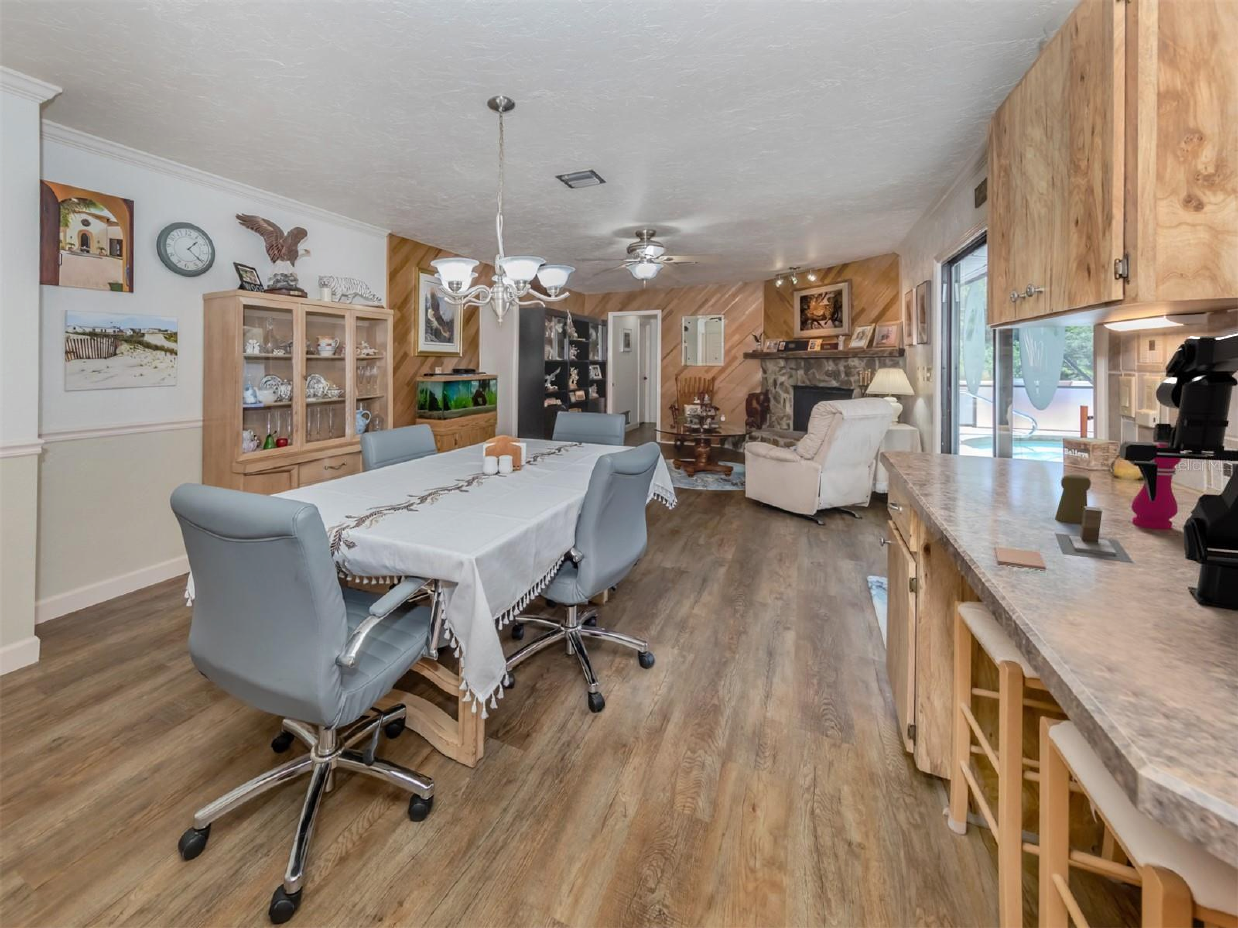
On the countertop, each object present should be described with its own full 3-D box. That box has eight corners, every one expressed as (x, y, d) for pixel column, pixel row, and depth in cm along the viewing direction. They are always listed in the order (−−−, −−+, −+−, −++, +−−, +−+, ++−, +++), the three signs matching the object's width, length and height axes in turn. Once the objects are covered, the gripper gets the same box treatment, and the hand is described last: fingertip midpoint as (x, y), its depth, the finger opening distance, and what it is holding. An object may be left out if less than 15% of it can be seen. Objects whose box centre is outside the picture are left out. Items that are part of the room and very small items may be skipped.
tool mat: (1133, 565, 99) (1133, 562, 99) (1062, 556, 105) (1062, 553, 105) (1117, 542, 112) (1117, 540, 111) (1054, 535, 117) (1054, 533, 117)
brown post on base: (1115, 555, 103) (1120, 519, 102) (1074, 550, 106) (1078, 515, 105) (1106, 542, 110) (1111, 508, 109) (1068, 538, 113) (1072, 505, 112)
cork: (1048, 521, 127) (1053, 474, 125) (1063, 517, 130) (1068, 471, 128) (1078, 527, 122) (1084, 479, 120) (1094, 523, 124) (1100, 476, 122)
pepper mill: (1159, 533, 116) (1173, 440, 113) (1120, 524, 123) (1132, 436, 120) (1183, 530, 118) (1197, 438, 115) (1143, 521, 125) (1155, 434, 122)
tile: (1038, 558, 105) (1044, 574, 98) (994, 553, 109) (997, 567, 101) (1039, 552, 105) (1045, 567, 97) (994, 546, 109) (997, 560, 101)
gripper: (1265, 410, 93) (1250, 499, 96) (1119, 408, 103) (1108, 489, 106) (1295, 415, 84) (1277, 514, 87) (1131, 413, 94) (1119, 501, 97)
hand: (1188, 503), depth 94 cm, fingers open, 9 cm apart
